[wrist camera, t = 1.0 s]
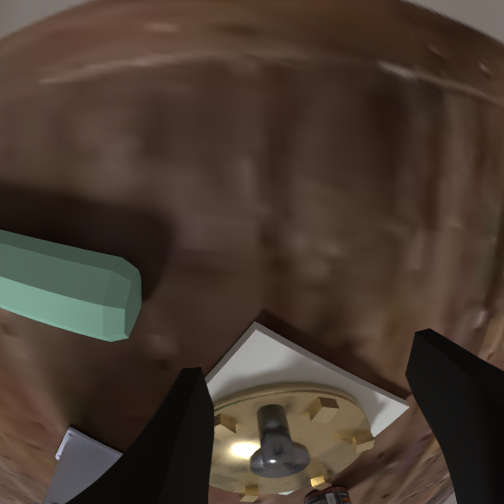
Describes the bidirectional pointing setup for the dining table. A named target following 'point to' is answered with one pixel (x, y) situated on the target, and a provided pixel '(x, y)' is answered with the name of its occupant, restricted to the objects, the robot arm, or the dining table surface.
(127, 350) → the dining table surface
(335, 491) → the supplement bottle
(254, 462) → the brass round disc
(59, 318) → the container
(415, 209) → the dining table surface
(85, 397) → the dining table surface
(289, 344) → the dial plate
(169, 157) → the dining table surface
